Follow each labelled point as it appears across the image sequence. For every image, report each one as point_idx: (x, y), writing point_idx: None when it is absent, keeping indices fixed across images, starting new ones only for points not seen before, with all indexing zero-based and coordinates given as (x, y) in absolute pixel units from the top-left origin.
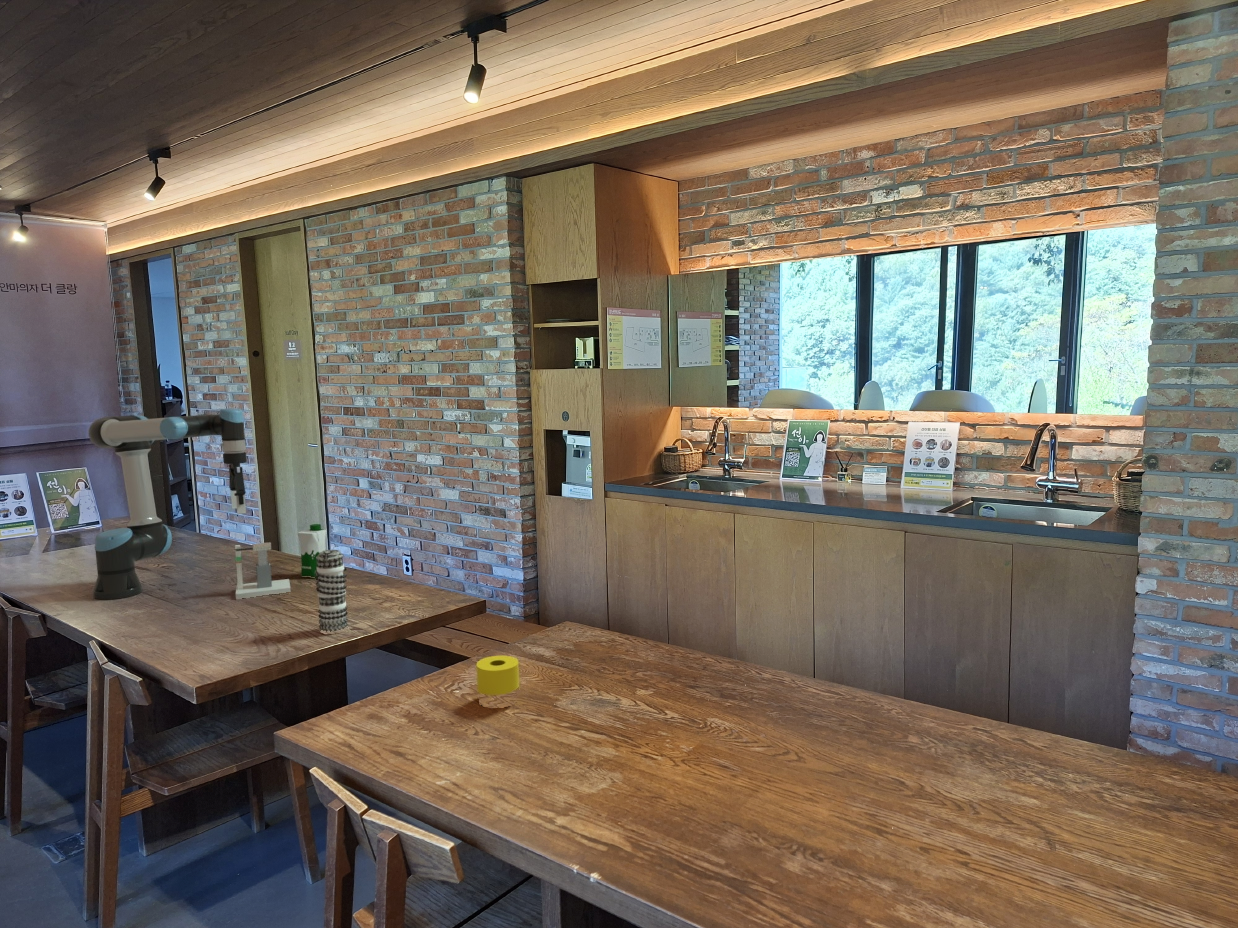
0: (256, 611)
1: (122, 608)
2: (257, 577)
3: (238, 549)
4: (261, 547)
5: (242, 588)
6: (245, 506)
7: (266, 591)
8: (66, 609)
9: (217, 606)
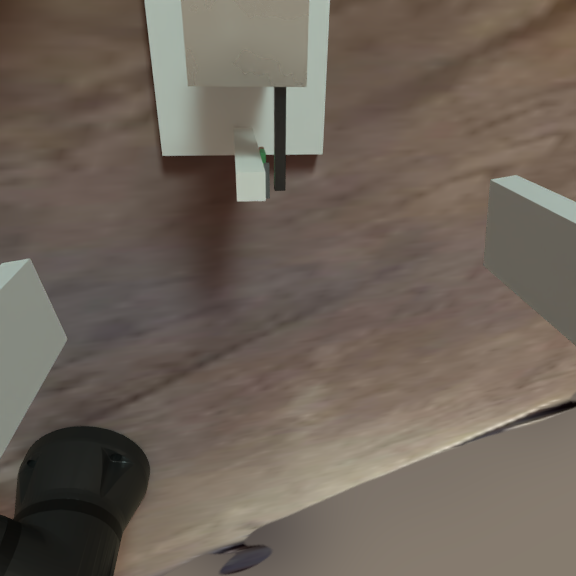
0: (527, 73)
1: (259, 432)
2: None
3: (284, 176)
4: (307, 24)
5: (253, 129)
6: (574, 201)
7: (327, 25)
8: (209, 524)
9: (378, 206)
